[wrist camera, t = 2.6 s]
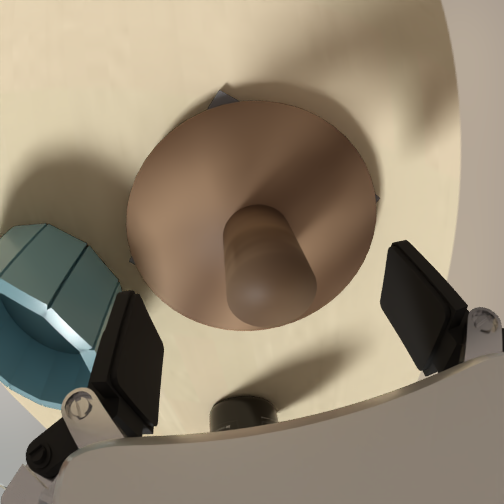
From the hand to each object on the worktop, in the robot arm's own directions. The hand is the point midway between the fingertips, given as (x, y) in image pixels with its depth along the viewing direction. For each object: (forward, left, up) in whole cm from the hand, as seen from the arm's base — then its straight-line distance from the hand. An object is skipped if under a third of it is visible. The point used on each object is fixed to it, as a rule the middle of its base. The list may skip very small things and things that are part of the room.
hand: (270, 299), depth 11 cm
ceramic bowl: (+10, +12, -7) cm, 17 cm away
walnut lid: (0, 0, -7) cm, 7 cm away
